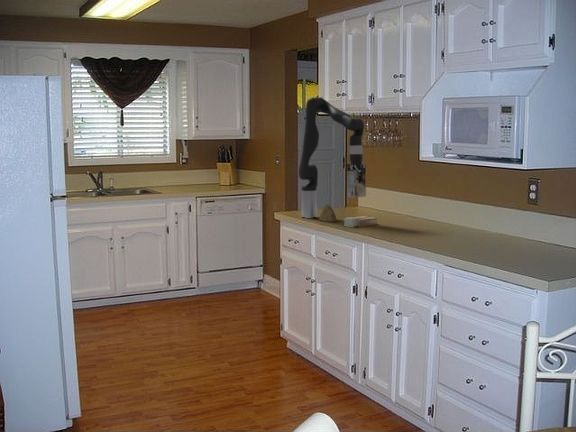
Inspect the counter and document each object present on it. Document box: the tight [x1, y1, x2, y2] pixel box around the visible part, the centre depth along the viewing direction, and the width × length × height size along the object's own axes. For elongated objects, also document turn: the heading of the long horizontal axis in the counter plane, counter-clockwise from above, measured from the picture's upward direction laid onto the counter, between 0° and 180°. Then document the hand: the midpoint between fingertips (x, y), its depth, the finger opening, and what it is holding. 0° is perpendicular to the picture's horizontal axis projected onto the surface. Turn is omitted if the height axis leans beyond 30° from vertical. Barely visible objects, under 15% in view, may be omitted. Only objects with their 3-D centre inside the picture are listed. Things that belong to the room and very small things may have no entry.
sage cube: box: [343, 216, 358, 228], centre depth 382 cm, size 5×5×5 cm
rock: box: [318, 204, 337, 222], centre depth 403 cm, size 11×9×10 cm
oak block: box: [352, 215, 378, 227], centre depth 390 cm, size 12×12×4 cm
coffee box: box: [346, 169, 367, 199], centre depth 388 cm, size 9×6×16 cm
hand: (356, 181), depth 388 cm, fingers closed on coffee box, 6 cm apart
